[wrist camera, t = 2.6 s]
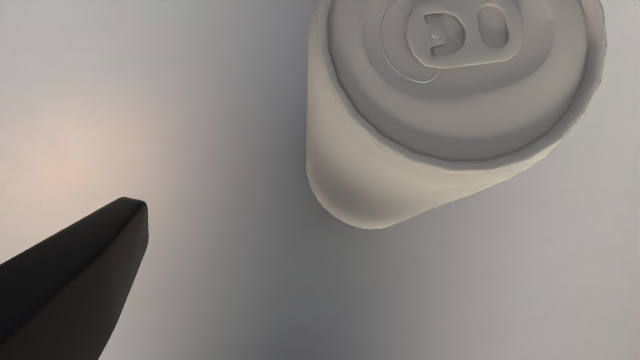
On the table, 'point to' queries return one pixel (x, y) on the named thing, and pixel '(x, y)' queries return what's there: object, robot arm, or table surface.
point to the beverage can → (440, 97)
